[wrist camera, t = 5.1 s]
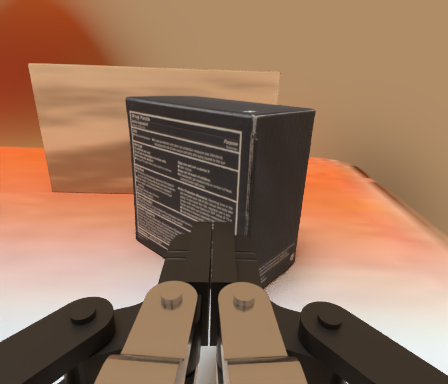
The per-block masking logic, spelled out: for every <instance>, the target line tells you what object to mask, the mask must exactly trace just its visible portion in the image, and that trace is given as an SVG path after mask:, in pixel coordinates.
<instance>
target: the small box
mask: <svg viewBox="0 0 448 384" xmlns="http://www.w3.org/2000/svg"><path fill="white" fill-rule="evenodd" d="M125 102H126V111H127V117H128V127H129V136H130V146H131V163H132V177H133V192H134V206H135V225H136V239H137V240H138V241H140V242H141V243H143V244H144V245H146V246H147V247H149V248H150V249H152V250H154V251H155V252H157V253H158V254H160V255H161V256H163V257H165V258H166V255H167V252H168V248H169V244H170V241H171V240H172V239H173V238H174V237H175V236H176V235H178V234H191V229H192V223H193V221H206V222H212V252H213V228H214V222H233V230H234V235H247V236H248V237H249V238H250V239H251V240H252V242H253V243H254V247H255V253H256V257H257V262H258V268H259V273H260V278H261V283H262V288H263V287H264V286H265V285H267V284H268V283H269V282H270V281H272V280H273V279H274V278H276V277H277V276H278V275H279V274H281V273H283V272H284V271H285V270H286V269H287V268H288V267H289V266H290V265H291V264H293V263H294V261H295V252H296V245H297V237H298V230H299V223H300V216H301V210H302V201H303V195H304V188H305V180H306V173H307V166H308V159H309V153H310V145H311V137H312V130H313V123H314V117H315V109H309V108H299V107H290V106H282V105H273V104H264V103H255V102H245V101H236V100H227V99H218V98H209V97H199V96H130V97H126V99H125ZM211 275H212V258H211ZM210 287H211V285H210Z"/></svg>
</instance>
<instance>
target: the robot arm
mask: <svg viewBox="0 0 448 384" xmlns="http://www.w3.org/2000/svg"><path fill="white" fill-rule="evenodd" d="M211 258H212V275H211ZM210 285H211V320H210V346H217V350H216V380H217V384H347V383H348V384H448V376H447V375H446V374H444V373H443V372H441V371H440V370H438V369H437V368H435V367H434V366H432V365H430V364H429V363H427V362H426V361H424V360H423V359H421V358H420V357H418V356H416V355H415V354H413V353H412V352H410V351H409V350H407V349H406V348H404V347H403V346H401V345H399V344H398V343H396V342H395V341H393V340H392V339H390V338H389V337H387V336H385V335H384V334H382V333H381V332H379V331H378V330H376V329H375V328H373V327H372V326H370V325H368V324H367V323H365V322H364V321H362V320H361V319H359V318H358V317H356V316H354V315H353V314H351V313H350V312H348V311H347V310H345V309H343V308H342V307H340V306H338V305H335V304H332V303H329V302H312V303H309V304H307V305H306V306H305V307H304V308H303V309H302V311H301V312H297V311H293V310H289V309H286V308H283V307H280V306H278V305H276V304H275V303H273V302H272V301H270V299H269V296H268V294H267V293H266V292H265V291H264V290H263V289H262V283H261V278H260V273H259V268H258V262H257V257H256V253H255V247H254V243H253V242H252V240H251V239H250V238H249V237H248V236H247V235H234V230H233V222H214V228H213V252H212V222H206V221H193V223H192V229H191V234H178V235H176V236H175V237H174V238H173V239H172V240H171V241H170V244H169V248H168V252H167V255H166V259H165V262H164V265H163V269H162V272H161V276H160V279H159V282H158V285H156V286H154V287H153V288H152V289H151V290H150V291H149V292H148V293H147V295H146V297H145V299H144V301H143V302H141V303H139V304H137V305H134V306H130V307H126V308H121V309H117V310H113V306H112V304H111V303H110V302H109V301H108V300H106V299H104V298H100V297H87V298H82V299H78V300H76V301H73V302H71V303H69V304H67V305H66V306H64V307H62V308H60V309H59V310H57V311H55V312H53V313H51V314H50V315H48V316H46V317H44V318H42V319H41V320H39V321H37V322H35V323H34V324H32V325H30V326H28V327H26V328H25V329H23V330H21V331H19V332H18V333H16V334H14V335H12V336H10V337H9V338H7V339H5V340H3V341H1V342H0V384H52V383H54V382H55V381H56V380H58V379H59V378H60V377H62V376H63V375H64V379H63V380H62V381H61V382H59V383H58V384H196V378H197V370H198V363H199V359H200V348H201V346H208V329H209V307H210ZM346 382H347V383H346Z"/></svg>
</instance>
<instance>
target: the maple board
mask: <svg viewBox="0 0 448 384" xmlns="http://www.w3.org/2000/svg"><path fill="white" fill-rule="evenodd" d="M28 65H29V71H30V76H31V82H32V86H33V92H34V97H35V103H36V107H37V112H38V118H39V123H40V128H41V134H42V139H43V144H44V149H45V155H46V160H47V165H48V170H49V176H50V181H51V186H52V191H53V192H87V193H125V194H134V192H133V177H132V163H131V146H130V136H129V127H128V117H127V111H126V102H125V99H126V97H130V96H199V97H209V98H218V99H227V100H236V101H245V102H255V103H264V104H273V105H277V102H278V91H279V81H280V72H265V71H235V70H208V69H180V68H152V67H124V66H122V67H121V66H94V65H66V64H28Z"/></svg>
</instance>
